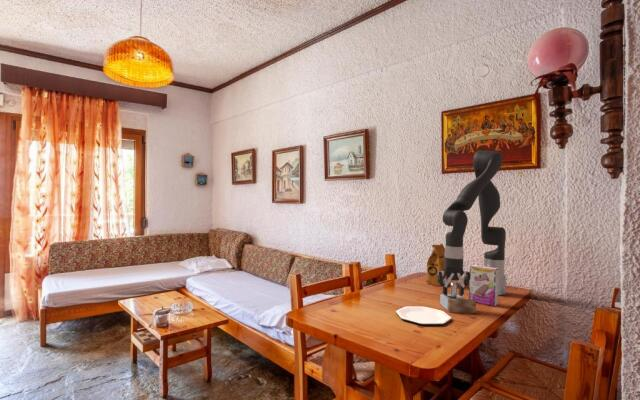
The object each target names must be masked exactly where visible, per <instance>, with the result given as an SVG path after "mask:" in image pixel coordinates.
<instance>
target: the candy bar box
mask: <svg viewBox="0 0 640 400" xmlns="http://www.w3.org/2000/svg"><path fill="white" fill-rule="evenodd" d="M469 272H470V273H471V274H470V280H469V291H468V293H469V294H468V295H469V296H468V299H474V300H476V304H481V305H487V306H489V307H490V306H491V307H496V306H498V305H499V295H498V278H499V269H498V268H492V267H485V266H484V265H479V264H471V265H470V266H469Z"/></svg>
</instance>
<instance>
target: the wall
mask: <svg viewBox="0 0 640 400" xmlns="http://www.w3.org/2000/svg"><path fill="white" fill-rule="evenodd" d="M476 306H477V303H476V300H474V299H469V298H464V299H448V310H447V312H448V313H467V314H468V313H473V314H474V313H476V312H477V310H476V309H477V307H476Z"/></svg>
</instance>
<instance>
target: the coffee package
mask: <svg viewBox="0 0 640 400" xmlns="http://www.w3.org/2000/svg"><path fill="white" fill-rule="evenodd" d="M431 247H432V248H433V249H432V252H431V254H430V255H429V257H428V259H427V261H426V276H425V277H426V284H428V285H431V286H435V287H442V286H441V285H440V284H438V277H437V271H444V269H445V255H444V254H445V246H444V244H443V243H442V242H441V243H439V244H432V245H431ZM445 277H446V275H445V274H443V276H442V279H443V282H444V279H445Z"/></svg>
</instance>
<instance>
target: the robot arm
mask: <svg viewBox="0 0 640 400" xmlns="http://www.w3.org/2000/svg"><path fill="white" fill-rule="evenodd" d="M503 161H504V158H503V154H502V153H501V152H499V151H494V150H480V149H479V150H477V151H476V152H475V153H474V155H473V159H472V162H473V163H472V165H473V170H474V175H475V178H474V179H473V180H471V182H469V183H467V184H466V185H464V187H463V188H462V189H461V191H460V193H459V194H458V195H457V197H456V199H455V200H454V201H453V202H452V203H451V204H450V205H449V206H448V207H447V208H446V210H445V211H444V212H443V215H442V222H443V223H444V225H445V226H448V227H452V229H451V231H449V232H448V231H447V233H446V234H445V246H444V248H445V254H444V255H445V269H444V271H437V277H438V284H440V285H441V286H440V287H442V294H444V295H445V296H447V294H448V285H450V284H451V282H452V281H455V282H456V281H457V284H458V285H459V286H458V295H460V296H461V297H463V295H465V287H470V274H471V273H470V271H467V270H466V271H465V270H464V237H465V236H464V235H465V232H466V229H467V226H468V222H469V219H468V215H467V213H466V211H469V210H470V209H471V208H472V207H473V205H474V203H475V202H476V200H477V198H478V207H479V215H480V235H481V242H482V244H483V245H488V246H497V247H496V248H495V249H493V250H489V251H485V252H484V254H483V266H485V267H492V268H498V269H499V278H498V296H502V295H506V293H507V275H506V274H505V262H506V261H505V258H506V257H505V255H506V253H505V252H506V251H505V250H506V238H507V234H506V233H507V232H506V229H505V228H504V227H500V226H489V224H490V222H491V220H492V219H493V218H494V217H495V215H496V214H497V213H498V212H499V210H500V208H501V196H500V192H499V190H498V188H497V186H495V184H494V183H493V181H492V179H493V178H494V177H495V176H496V174H497V173H498V172H499V170H500V169H501V167H502V166H503ZM443 274H445V275H446V277H445V279H444V282H443V279H442V276H443ZM462 277H463V278H464V279H463V278H462Z"/></svg>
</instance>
